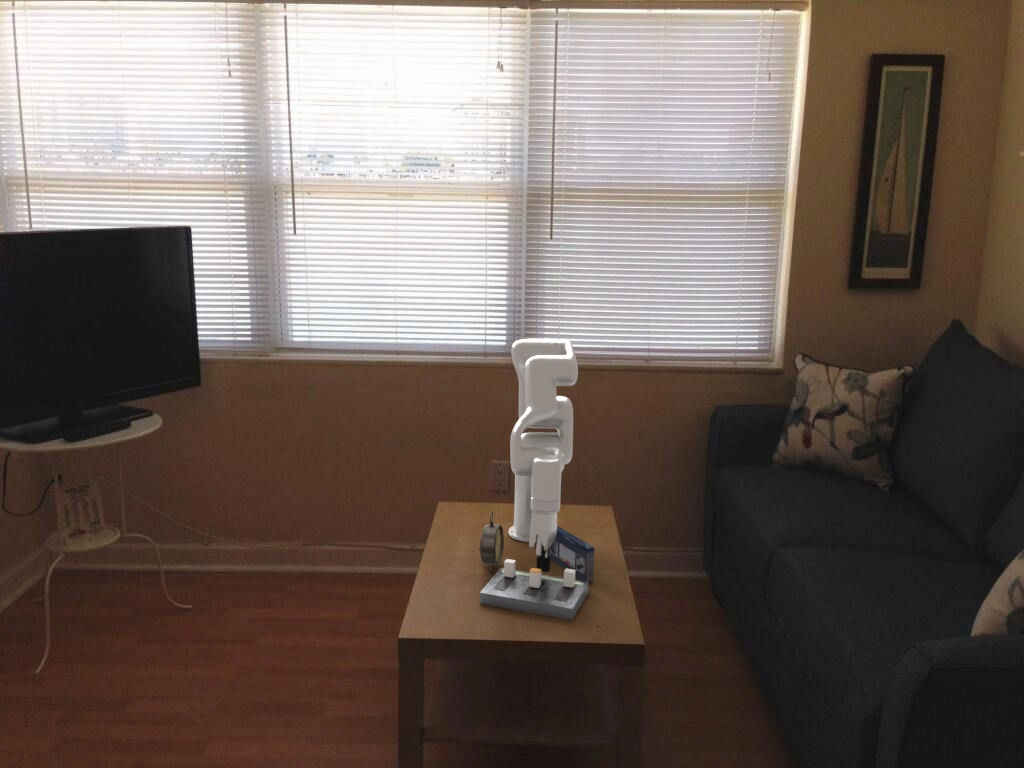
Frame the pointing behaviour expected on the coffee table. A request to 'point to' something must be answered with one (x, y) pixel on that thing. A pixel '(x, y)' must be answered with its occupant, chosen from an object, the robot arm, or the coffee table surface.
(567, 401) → the robot arm
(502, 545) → the dial indicator gauge
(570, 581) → the block
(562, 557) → the vhs cassette tape
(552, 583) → the breaker panel
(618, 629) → the coffee table surface
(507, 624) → the coffee table surface
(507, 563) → the breaker
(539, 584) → the block
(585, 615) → the coffee table surface
